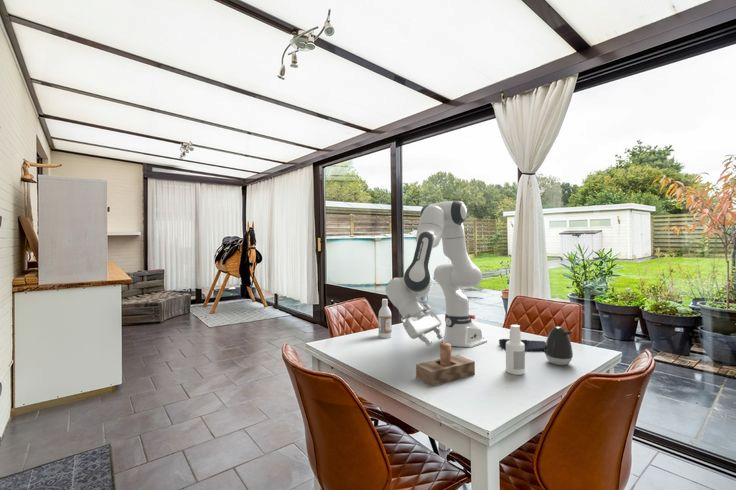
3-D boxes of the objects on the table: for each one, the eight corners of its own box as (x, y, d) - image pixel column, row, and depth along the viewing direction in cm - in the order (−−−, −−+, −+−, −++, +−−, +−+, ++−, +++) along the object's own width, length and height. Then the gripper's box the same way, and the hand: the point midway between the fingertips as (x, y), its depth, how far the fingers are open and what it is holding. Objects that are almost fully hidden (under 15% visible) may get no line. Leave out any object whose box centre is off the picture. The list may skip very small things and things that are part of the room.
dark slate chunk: (554, 354, 157) (554, 343, 157) (503, 352, 161) (503, 342, 161) (543, 344, 173) (543, 334, 172) (496, 342, 176) (496, 333, 176)
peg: (446, 373, 135) (445, 342, 135) (453, 376, 132) (453, 345, 131) (438, 375, 133) (437, 344, 133) (445, 379, 130) (445, 346, 130)
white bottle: (523, 376, 131) (523, 328, 131) (504, 373, 135) (503, 326, 135) (526, 370, 137) (525, 324, 137) (507, 367, 141) (507, 322, 140)
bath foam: (383, 339, 182) (383, 300, 182) (376, 336, 188) (375, 299, 188) (394, 337, 186) (393, 299, 186) (386, 334, 192) (386, 297, 192)
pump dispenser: (564, 369, 137) (564, 331, 137) (539, 362, 146) (539, 325, 146) (578, 364, 143) (578, 327, 143) (553, 357, 152) (553, 322, 151)
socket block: (458, 367, 141) (457, 354, 141) (474, 374, 134) (474, 361, 133) (416, 377, 131) (415, 364, 131) (431, 386, 123) (431, 372, 123)
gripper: (404, 312, 131) (427, 343, 125) (430, 303, 147) (452, 330, 141) (394, 323, 134) (417, 353, 128) (421, 313, 150) (442, 339, 144)
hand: (436, 341), depth 135 cm, fingers open, 8 cm apart
